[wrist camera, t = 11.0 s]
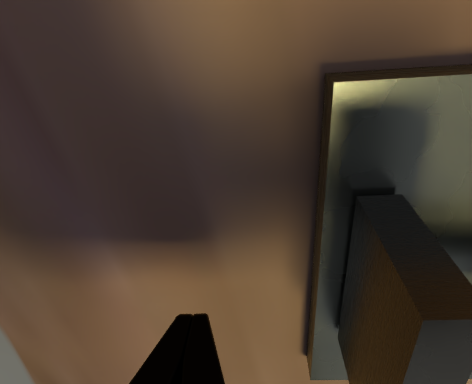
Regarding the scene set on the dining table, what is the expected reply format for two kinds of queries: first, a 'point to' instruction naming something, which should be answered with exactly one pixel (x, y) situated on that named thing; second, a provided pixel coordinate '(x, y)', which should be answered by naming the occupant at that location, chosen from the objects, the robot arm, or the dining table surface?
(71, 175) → the dining table surface
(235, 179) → the dining table surface
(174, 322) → the robot arm
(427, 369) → the jaw
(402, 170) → the vise
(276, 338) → the dining table surface
